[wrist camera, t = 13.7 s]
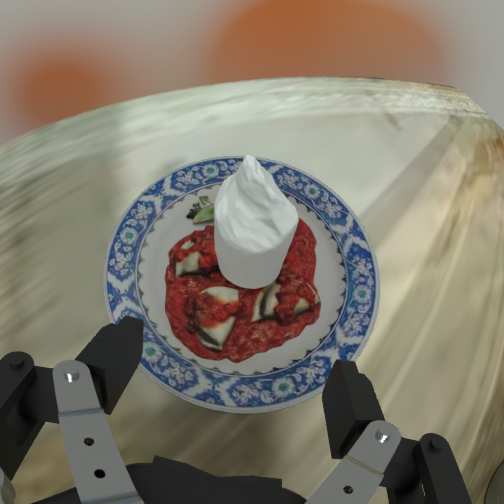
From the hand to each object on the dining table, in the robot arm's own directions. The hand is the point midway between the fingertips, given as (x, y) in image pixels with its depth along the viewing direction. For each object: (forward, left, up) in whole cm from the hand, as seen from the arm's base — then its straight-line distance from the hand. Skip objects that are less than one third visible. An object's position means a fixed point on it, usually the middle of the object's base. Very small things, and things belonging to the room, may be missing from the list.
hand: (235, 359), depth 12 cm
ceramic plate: (-4, -9, -15) cm, 18 cm away
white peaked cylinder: (-4, -9, -12) cm, 16 cm away
